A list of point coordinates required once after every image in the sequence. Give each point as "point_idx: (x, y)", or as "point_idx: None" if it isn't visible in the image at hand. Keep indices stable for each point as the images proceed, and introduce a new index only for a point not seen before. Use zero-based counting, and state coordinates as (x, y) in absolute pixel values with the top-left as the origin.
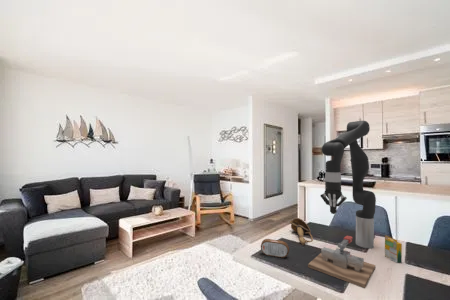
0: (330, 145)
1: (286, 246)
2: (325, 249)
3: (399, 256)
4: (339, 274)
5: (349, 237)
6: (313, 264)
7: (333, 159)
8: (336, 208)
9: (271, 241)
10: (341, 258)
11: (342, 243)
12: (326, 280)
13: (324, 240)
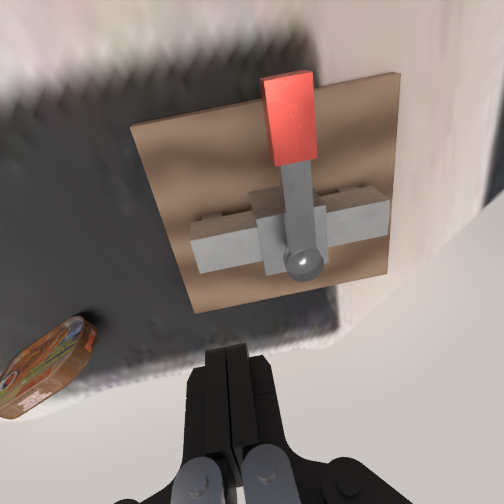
0: None
1: (85, 364)
2: (214, 259)
3: None
4: (307, 285)
5: (300, 113)
6: (208, 301)
7: None
8: (281, 420)
9: (29, 408)
10: None
11: (305, 255)
12: (281, 318)
13: None
